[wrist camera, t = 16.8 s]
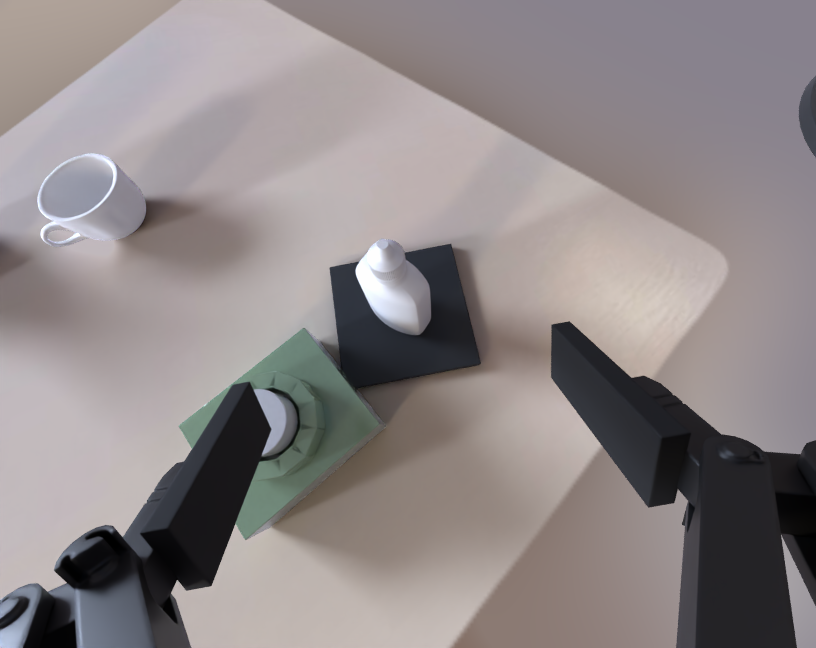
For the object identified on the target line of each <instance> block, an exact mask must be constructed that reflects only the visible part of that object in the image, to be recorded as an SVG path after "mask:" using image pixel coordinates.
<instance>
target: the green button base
mask: <svg viewBox="0 0 816 648" xmlns="http://www.w3.org/2000/svg"><path fill="white" fill-rule="evenodd" d="M249 381H250V383H251V385H252V387H253V389H265V390H268V391H272V392H275V393H278V394H281V395H283V396H285V397H287V398H288V399H289V400H290V401H291V402H292V403H293V405H294V407H295V409H296V412H297V417H298V424H297V429H296V433H295V435H294V437H293V439H292V441H291V442H290V443H289V445H288V446H287V447H286V448H285V449H283V450H282V451H281V452H279V453H277V454H275V455H272V456H268V457H261V458H260V461H259V464H258V466H257V469H256V471H255V474H254V477H253V479H252V482H251V484H250V487H249V490H248V492H247V495H246V497H245V500H244V503H243V505H242V508H241V510H240V513H239V515H238V518H237V521H236V525H237V527H238V529H239V530H240V532H241V534H242V535H243V537H244V539H245V540H247V539H249V538H251V537H253V536H255V535H257V534H258V533H260V532H262V531H264V530H266V529H268V528H270V527H271V526H273V525H274V524H275V523H276V522H277V521H278V520H279V519H281V518H282V517H283V516H284V515H285V514H286V513H287V512H289V511H290V510H291V509H292V508H293V507H294V506H295V505H297V504H298V503H299V502H300V501H301V500H302V499H304V498H305V497H306V496H307V495H308V494H309V493H310V492H312V491H313V490H314V489H315V488H316V487H317V486H318V485H320V484H321V483H322V482H323V481H324V480H325V479H326V478H328V477H329V476H330V475H331V474H332V473H333V472H335V471H336V470H337V469H338V468H339V467H340V466H341V465H343V464H344V463H345V462H346V461H347V460H348V459H349V458H351V457H352V456H353V455H354V454H355V453H356V452H357V451H359V450H360V449H361V448H362V447H363V446H364V445H366V444H367V443H368V442H369V441H370V440H371V439H372V438H374V437H375V436H376V435H377V434H378V433H379V432H380V431H382V430H383V429H384V428H385V427H386V425H385V423H384V422H383V421H382V420H381V418H380V417H379V416H378V415H377V413H376V412H375V411H374V410H373V408H372V407H371V406H370V404H369V403H368V402H367V401H366V399H365V398H364V397H363V396H362V394H361V393H360V392H359V391H358V389H357V388H356V387H355V386H354V385H353V384H352V382H351V381H350V380H349V379H348V377H347V376H346V375H345V374H344V372H343V371H342V369H341V368H340V366H339V365H338V364H337V363H336V361H335V360H334V359H333V358H332V356H331V355H330V354H329V353H328V351H327V350H326V349H325V348H324V346H323V345H322V344H321V342H320V341H319V340H318V339H317V338H315V337H314V336H313V335H312V334H311V333H310V332H309V331H307V330H306V329H305V328H303V329H302V330H300V331H299V332H298V333H297V334H295V335H294V336H293V337H291V338H290V339H289V340H288V341H286V342H285V343H284V344H282V345H281V346H280V347H279V348H277V349H276V350H275V351H274V352H272V353H271V354H270V355H268V356H267V357H266V358H265V359H263V360H262V361H261V362H259V363H258V364H257V365H256V366H254V367H253V368H252V369H251V370H249V371H248V372H247V373H245V374H244V375H243V376H242V377H240V378H239V379H238V380H237V381H235V382H234V383H233V384H239V383H244V382H249ZM233 384H231V385H230V386H229V387H228V388H226V389H225V390H224V391H222V392H221V393H220V394H219V395H217V396H216V397H215V398H214V399H212V400H211V401H210V402H208V403H207V404H206V405H205V406H203V407H202V408H201V409H199V410H198V411H197V412H196V413H194V414H193V415H192V416H191V417H189V418H188V419H187V420H185V421H184V422H183V423H182V424H180V425H179V427H180V429H181V431H182V433H183V434H184V436H185V438H186V439H187V441H188V443H189V445H190V446H191V448H193V447H194V445H195V444H196V442H197V440H198V439H199V437H200V436H201V434H202V432H203V431H204V429H205V428H206V426H207V424H208V423H209V421H210V420H211V418H212V416H213V415H214V413H215V412H216V410H217V408H218V407H219V405H220V404H221V402H222V400H223V399H224V397H225V396H226V394H227V392H228V391H229V389H230V388H231V386H232V385H233Z"/></svg>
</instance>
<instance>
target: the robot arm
mask: <svg viewBox="0 0 816 648" xmlns="http://www.w3.org/2000/svg"><path fill="white" fill-rule="evenodd" d="M551 378H552V379H553V381H554V382H555V383H556V385H557V386H558V387H559V389H560V390H561V391H562V393H563V394H564V395H565V397H566V398H567V399H568V401H569V402H570V403H571V405H572V406H573V407H574V409H575V410H576V411H577V413H578V414H579V415H580V417H581V418H582V419H583V421H584V422H585V423H586V425H587V426H588V427H589V429H590V430H591V431H592V433H593V434H594V435H595V437H596V438H597V439H598V441H599V442H600V443H601V445H602V446H603V447H604V449H605V450H606V451H607V453H608V454H609V456H610V457H611V458H612V459H613V461H614V462H615V464H616V465H617V466H618V468H619V469H620V470H621V472H622V473H623V474H624V475H625V477H626V478H627V480H628V481H629V482H630V484H631V485H632V486H633V488H634V489H635V490H636V492H637V493H638V494H639V496H640V497H641V498H642V500H643V501H644V502H645V504H646V505H647V506H648V507H654V506H660V505H665V504H671V503H674V501H675V498H676V494H677V490H678V489H679V490H680V492H681V493H682V494H683V495H684V496H685V497H686V499H687V500H688V504H687V507H686V511H685V515H684V519H683V522H682V525H684V526H685V534H684V548H683V549H684V550H683V562H682V575H681V589H680V603H679V618H678V632H677V645H676V648H797V645H796V639H795V631H794V624H793V617H792V611H791V603H790V596H789V589H788V582H787V575H786V567H785V561H784V553H783V547H782V539H781V535H782V537H783V539H784V541H785V543H786V545H787V547H788V549H789V551H790V553H791V555H792V558H793V560H794V562H795V564H796V566H797V568H798V570H799V572H800V574H801V576H802V578H803V581H804V583H805V585H806V587H807V589H808V591H809V593H810V595H811V597H812V599H813V601H814V604H815V606H816V441H812V442H809V443H807V444H806V445H805V447H804V449H803V450H802V453H801V454H788V453H773V452H764V451H762V450H761V449H760V448H759V447H757V446H756V445H754V444H752V443H750V442H749V441H747V440H744V439H741V438H738V437H735V436H729V435H721V434H720V433H719V432H718V431H717V430H715V429H714V428H713V427H711V425H709V424H708V423H707V422H706V421H705V420H703V419H702V418H701V417H700V416H699V415H697V414H696V413H695V412H694V411H693V410H692V409H690V408H689V407H688V406H687V405H686V404H683V403H682V401H681V400H679V399H678V398H677V397H676V396H673V395H672V393H671V392H670V391H669V390H668V389H666V388H665V387H664V386H663V385H662V384H661V383H658V382H656V381H654V380H652V379H650V378H648V377H646V376H640V377H635V378H631V377H630V376H629V375H628V374H626V373H625V372H624V371H623V370H622V369H621V368H620V367H619V366H618V365H617V364H616V363H614V362H613V361H612V360H611V359H610V358H609V357H608V356H607V355H606V354H605V353H603V352H602V351H601V350H600V349H599V348H598V347H597V346H596V345H595V344H594V343H593V342H591V341H590V340H589V339H588V338H587V337H586V336H585V335H584V334H583V333H582V332H581V331H579V330H578V329H577V328H576V327H575V326H574V325H573V324H572V323H571V322H570V321H569V322H564V323H558V324H553V325H552V343H551ZM271 430H272V429H271V427H270V425H269V422H268V420H267V418H266V416H265V414H264V412H263V409H262V407H261V405H260V403H259V401H258V398H257V396H256V394H255V392H254V390H253V387H252V385H251V383H250V381H249V382H244V383H239V384H233V385H232V386H231V388H230V389H229V391H228V392H227V394H226V396H225V397H224V399H223V400H222V402H221V404H220V405H219V407H218V408H217V410H216V412H215V413H214V415H213V416H212V418H211V420H210V421H209V423H208V424H207V426H206V428H205V429H204V431H203V432H202V434H201V436H200V437H199V439H198V440H197V442H196V444H195V445H194V447H193V448H192V450H191V452H190V453H189V455H188V456H187V458H186V460H185V461H184V462H180V463H176V464H175V465H174V466H173V467H172V468H171V469H170V470H169V471H168V472H167V473H166V474H165V475H164V476H163V477H162V479H161V480H160V482H159V483H158V485H157V486H156V488H155V489H154V490H155V491H154V492H152V494H151V495H150V497H149V498H148V500H147V503H146V504H145V505H144V506H143V508H142V509H141V511H140V512H139V514H138V515H137V517H136V518H135V520H134V521H133V523H132V524H131V526H130V527H129V529H128V530H127V532H126V533H125V535H124V536H123V537H122V536H121V535H120V534H119V533H118V531H117V530H116V529H115V528H114V527H113V526H109V525H105V526H101V527H97V528H95V529H93V530H91V531H89V532H87V533H85V534H84V535H82V536H81V537H79V538H78V539H77V540H75V541H74V542H73V543H72V544H71V545H70V546H69V547H68V548H67V549H66V550H65V551H64V552H63V553H62V555H61V556H60V557H59V559H58V560H57V562H56V565H55V568H54V571H55V572H56V573H57V574H58V575H59V576H60V577H61V578H63V579H64V580H65V581H66V582H67V583H66V584H64V585H62V586H60V587H57V588H55V589H53V590H51V591H49V592H47V591H46V590H45V589H44V588H42V587H41V586H40V585H39V584H28V585H25V586H23V587H20V588H18V589H16V590H15V591H13V592H12V593H10V594H8V595H7V596H5V597H4V598H3V599H1V600H0V648H191V646H190V643H189V640H188V636H187V633H186V630H185V627H184V624H183V621H182V618H181V615H180V611H179V608H178V605H177V602H176V599H175V598H174V597H173V595H172V594H171V592H172V589H173V587H174V585H175V583H176V581H177V580H178V581H179V582H180V583H181V585H182V586H183V587H184V588H185V590H186V591H187V590H192V589H198V588H203V587H209V586H212V583H213V580H214V578H215V575H216V573H217V570H218V567H219V565H220V562H221V560H222V557H223V554H224V552H225V549H226V547H227V544H228V541H229V539H230V536H231V534H232V531H233V528H234V526H235V523H236V521H237V518H238V515H239V513H240V510H241V508H242V505H243V503H244V500H245V497H246V495H247V492H248V490H249V487H250V484H251V482H252V479H253V477H254V474H255V471H256V469H257V466H258V464H259V461H260V458H261V456H262V453H263V451H264V448H265V445H266V443H267V440H268V438H269V435H270V432H271Z"/></svg>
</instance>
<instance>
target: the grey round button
mask: <svg viewBox="0 0 816 648" xmlns="http://www.w3.org/2000/svg"><path fill="white" fill-rule="evenodd" d="M253 390H254V392H255V394H256V396H257V398H258V401H259V403H260V405H261V407H262V409H263V412H264V414H265V416H266V418H267V420H268V422H269V425H270V427H271V429H272V430H271V432H270V435H269V438H268V440H267V443H266V445H265V448H264V451H263V453H262V456H261V457H268V456H272V455H275V454H277V453H279V452H281V451H282V450H283V449H285V448H286V447H287V446H288V445H289V443H290V442H291V441H292V439H293V437H294V435H295V433H296V429H297V424H298V417H297V412H296V409H295V407H294V405H293V403H292V402H291V401H290V400H289V399H288V398H287V397H285V396H283V395H281V394H278V393H275V392H272V391H268V390H265V389H253Z"/></svg>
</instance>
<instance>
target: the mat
mask: <svg viewBox="0 0 816 648" xmlns="http://www.w3.org/2000/svg"><path fill="white" fill-rule="evenodd" d="M405 259H406V260H407V261H408V262H410V263H411V264H412V265H414V266H415V267H416V268H417V269H418V270H419V271H420V272H421V274H422V275H423V276H424V277H425V279H426V280H427V282H428V284H429V288H430V299H431V320H430V322H429V323H428V325H427V327H426V328H425V330H424V331H423V332H422V333H421V334H420V335H409V334H405V333H402V332H399V331H397V330H395V329H393V328H391V327H389V326H388V325H386V324H385V323H384V322H383V321H381V320H380V319H379V318H378V316H377V315H376V314H375V313H374V311H373V310H372V308H371V306H370V304H369V302H368V300H367V298H366V296H365V294H364V292H363V290H362V287H361V285H360V283H359V281H358V278H357V276H356V267H357V265H358V264H359V262H355V263H350V264H345V265H340V266H335V267H330V275H331V284H332V292H333V300H334V309H335V317H336V325H337V334H338V342H339V350H340V359H341V367H342V371H343V372H344V374H345V375H346V376H347V377H348V379H349V380H350V381H351V382H352V384H353V385H354V386H355V387H356V388H361V387H367V386H372V385H377V384H382V383H387V382H393V381H398V380H403V379H408V378H414V377H419V376H424V375H429V374H435V373H440V372H445V371H450V370H456V369H461V368H466V367H471V366H477V365H480V364H481V362H480V358H479V354H478V350H477V346H476V342H475V338H474V334H473V330H472V326H471V322H470V318H469V314H468V310H467V306H466V302H465V298H464V294H463V290H462V286H461V282H460V278H459V274H458V270H457V266H456V262H455V258H454V254H453V250H452V246H451V244H448V245H442V246H437V247H432V248H427V249H422V250H417V251H412V252H406V253H405Z"/></svg>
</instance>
